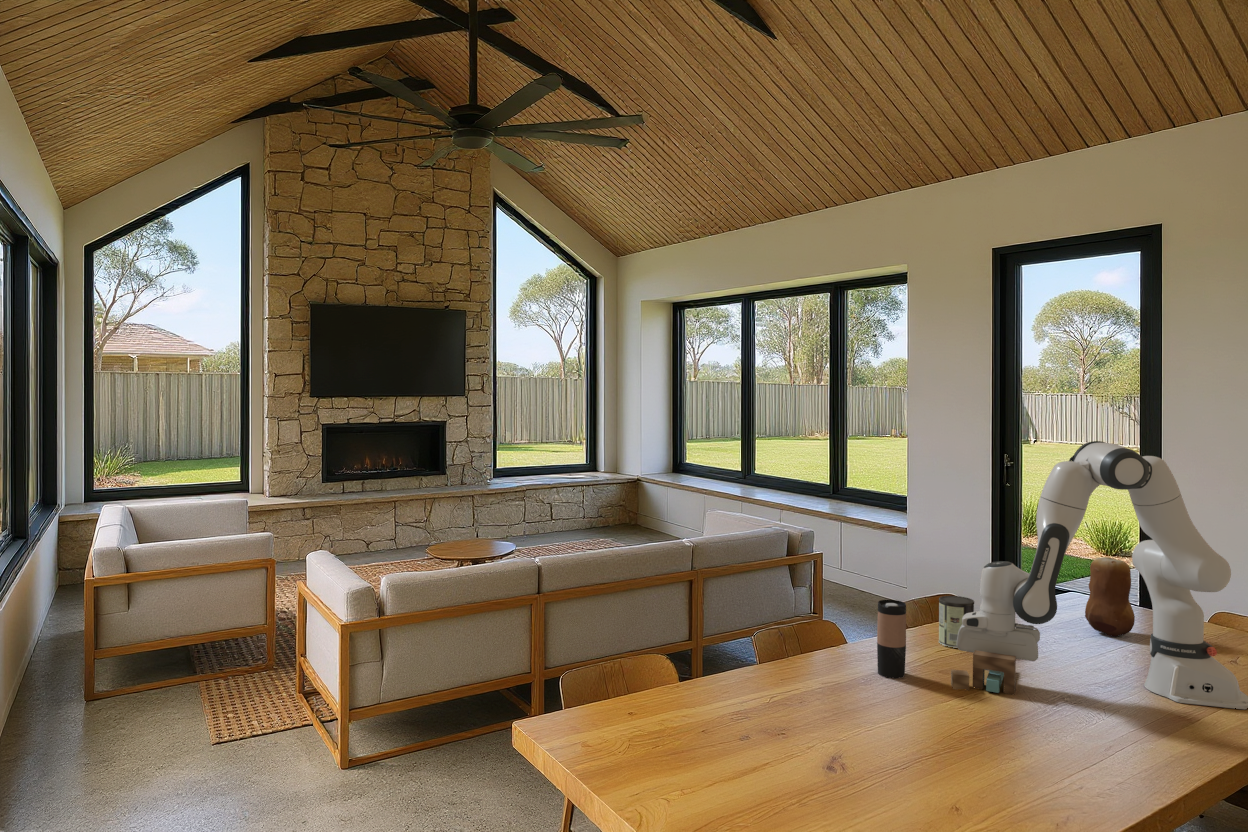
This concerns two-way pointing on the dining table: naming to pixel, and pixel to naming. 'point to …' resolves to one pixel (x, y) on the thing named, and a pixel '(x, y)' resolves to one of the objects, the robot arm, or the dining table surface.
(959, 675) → the bead cube
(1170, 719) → the dining table surface
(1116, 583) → the butternut squash
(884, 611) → the travel mug
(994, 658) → the wooden u-shaped block
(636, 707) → the dining table surface
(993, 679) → the teal square bar
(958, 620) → the coffee can
